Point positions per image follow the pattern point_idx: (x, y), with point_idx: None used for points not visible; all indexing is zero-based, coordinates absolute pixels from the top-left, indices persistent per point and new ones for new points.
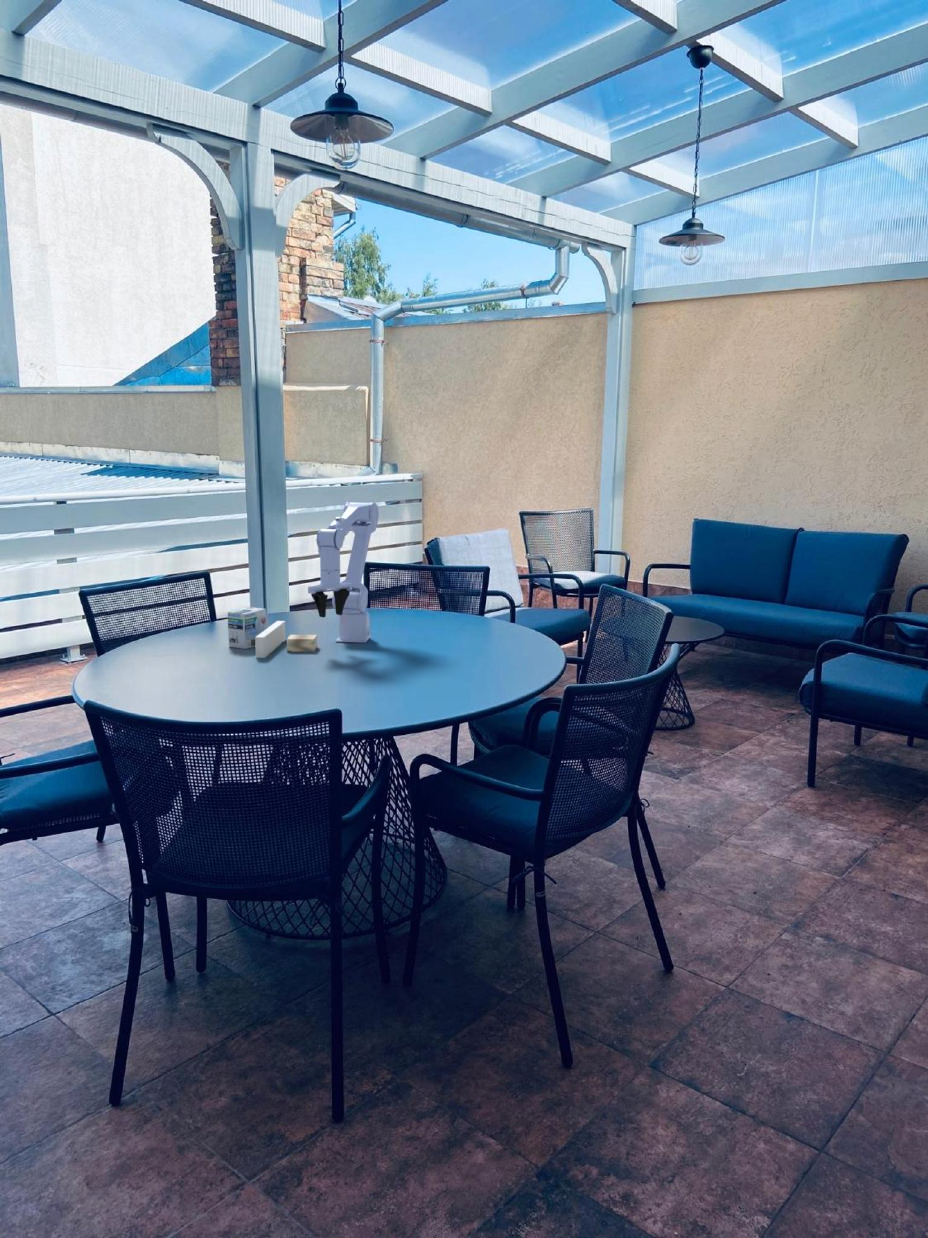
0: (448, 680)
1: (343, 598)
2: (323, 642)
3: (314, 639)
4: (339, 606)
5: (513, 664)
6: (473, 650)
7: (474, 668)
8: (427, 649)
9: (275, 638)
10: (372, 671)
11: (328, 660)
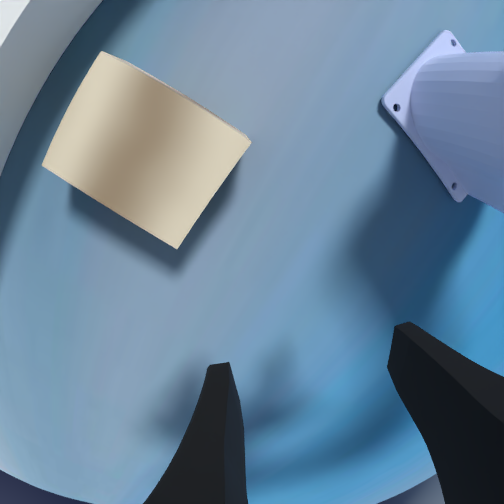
0: (309, 499)
1: (447, 485)
2: (329, 57)
3: (190, 227)
4: (422, 409)
5: None
6: None
7: (391, 469)
8: (475, 357)
9: (27, 63)
10: None
11: (180, 368)
